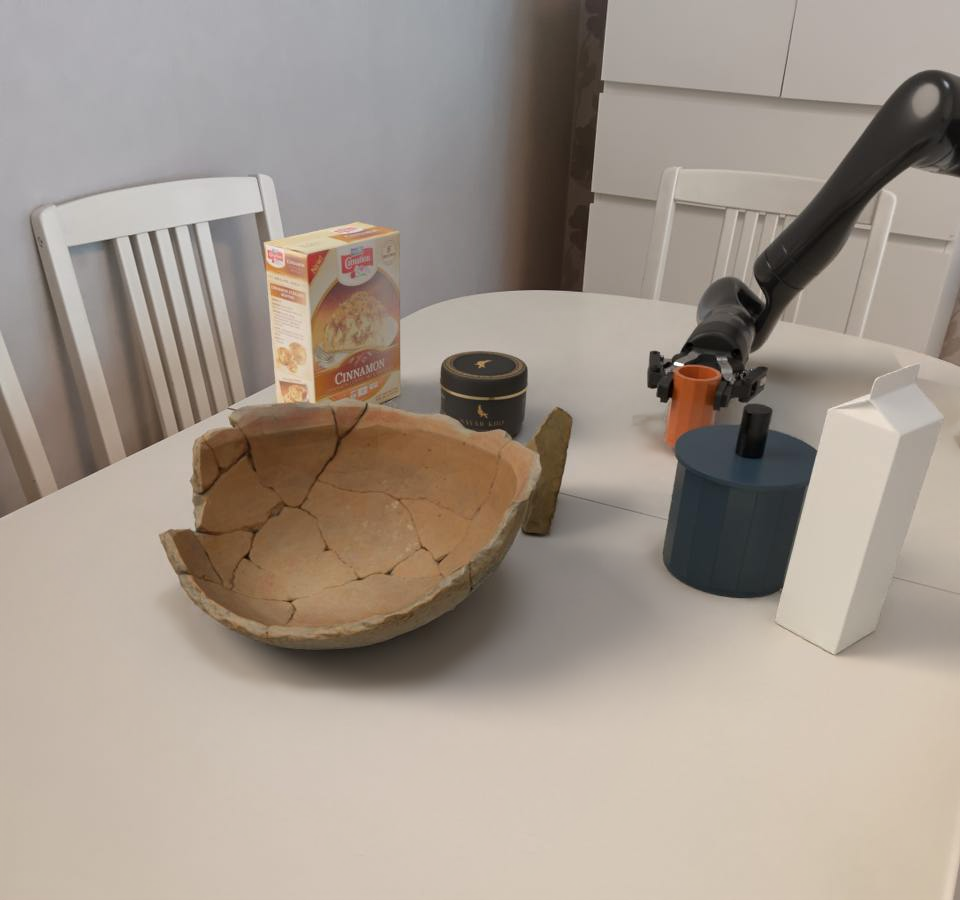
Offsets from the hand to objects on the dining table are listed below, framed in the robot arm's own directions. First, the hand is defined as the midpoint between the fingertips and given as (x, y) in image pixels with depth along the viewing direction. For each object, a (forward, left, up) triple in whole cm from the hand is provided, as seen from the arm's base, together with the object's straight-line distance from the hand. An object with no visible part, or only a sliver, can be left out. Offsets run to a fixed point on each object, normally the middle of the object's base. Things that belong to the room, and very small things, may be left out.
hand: (690, 398), depth 104 cm
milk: (+10, +32, -7) cm, 34 cm away
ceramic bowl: (+43, +9, -7) cm, 45 cm away
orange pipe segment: (-2, -2, -6) cm, 7 cm away
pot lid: (+11, +20, +3) cm, 23 cm away
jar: (+16, -17, -7) cm, 24 cm away
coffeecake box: (+28, -30, -7) cm, 42 cm away
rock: (+22, +3, -7) cm, 23 cm away
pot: (+11, +20, -7) cm, 24 cm away
